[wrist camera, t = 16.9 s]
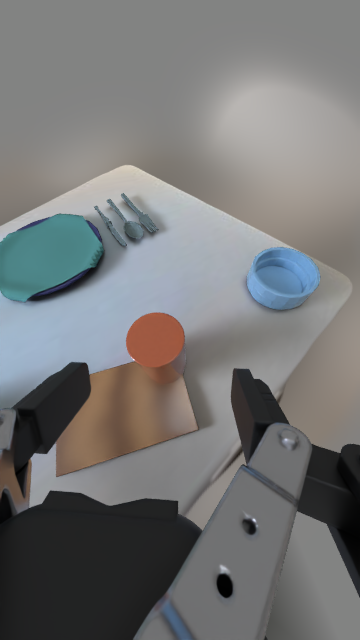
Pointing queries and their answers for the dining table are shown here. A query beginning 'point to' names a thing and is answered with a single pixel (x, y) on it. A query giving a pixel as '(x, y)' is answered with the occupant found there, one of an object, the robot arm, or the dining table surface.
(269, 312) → the dining table surface
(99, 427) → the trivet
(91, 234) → the cutlery set
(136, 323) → the terracotta cylindrical canister
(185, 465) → the dining table surface
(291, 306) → the bowl
